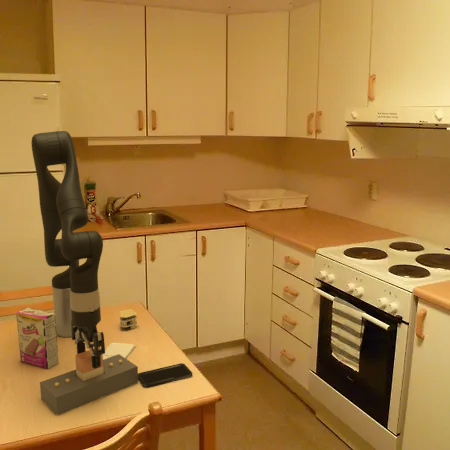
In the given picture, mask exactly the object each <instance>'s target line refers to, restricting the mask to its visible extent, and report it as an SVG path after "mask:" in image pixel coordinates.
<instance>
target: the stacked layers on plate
mask: <svg viewBox="0 0 450 450" xmlns="http://www.w3.org/2000/svg"><path fill="white" fill-rule="evenodd" d="M136 315H137V312H136V311H134V310H133V309H132V308H128V309H123V310H120V311H119V320H120V321H119V323H120V324H119V326H120V327H122V328H124V329H125V328H130V329H131V330H134V329H136V328H137V324H138V321H137V320H136V319H137V316H136Z"/></svg>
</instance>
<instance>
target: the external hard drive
mask: <svg viewBox="0 0 450 450" xmlns="http://www.w3.org/2000/svg"><path fill="white" fill-rule="evenodd" d="M134 349H136V344H135V343H134V344H132V343H123V342H110V344H109V345H108V346H107V347H106V348H105V354H103V360H104V359H107V358H110V357H112V356H115V355H118V354H119V355H121V356H123V357H124V358H126V359H127V360H128V358H129V356H130V355H131V353H132V352H133V351H134Z"/></svg>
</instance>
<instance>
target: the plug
mask: <svg viewBox="0 0 450 450" xmlns="http://www.w3.org/2000/svg"><path fill="white" fill-rule="evenodd" d="M91 355H92V354H91V351H90V349H89V350H85V352H82V353H79V354H77V353H76V354H75V355H74V357H75V370H76V374H77V377H78V378H79V379H80V380H81V381H86V380H89V379H91V378H94V377H97V376H99V375H102V374H104V371H103V354H102V355H100V358H101V366H100V367H99V368H96V369H94V368H92V356H91Z"/></svg>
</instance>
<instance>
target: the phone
mask: <svg viewBox="0 0 450 450" xmlns="http://www.w3.org/2000/svg"><path fill="white" fill-rule="evenodd" d="M192 377H193V372H192V370H190V368H189V367H188V366H187V365H186V364H185V363H181V362H180V363H177V364H172V365H168V366H163V367H160V368H155V369H151V370H146V371H141V372H138V383H140V385H141V386H142V388H143V389H150V388H153V387H158V386H160V385H167V384H169V383H174V382H178V381H181V380H186V379H190V378H192Z"/></svg>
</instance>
